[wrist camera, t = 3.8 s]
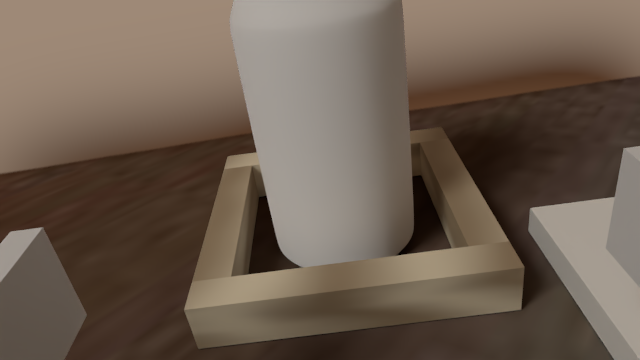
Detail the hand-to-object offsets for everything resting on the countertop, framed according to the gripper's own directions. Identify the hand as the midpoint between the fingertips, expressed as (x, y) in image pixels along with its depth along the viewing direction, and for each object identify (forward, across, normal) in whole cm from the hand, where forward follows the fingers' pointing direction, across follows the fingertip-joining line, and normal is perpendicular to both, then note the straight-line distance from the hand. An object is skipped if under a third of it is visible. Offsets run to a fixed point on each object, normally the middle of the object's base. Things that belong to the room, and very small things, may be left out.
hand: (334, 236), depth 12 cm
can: (+10, 0, -7) cm, 12 cm away
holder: (+10, 0, -7) cm, 12 cm away
